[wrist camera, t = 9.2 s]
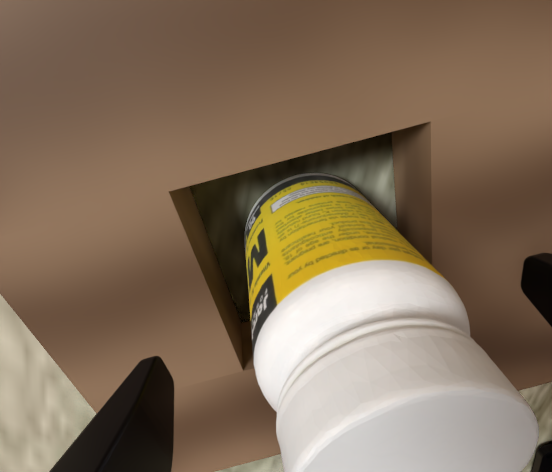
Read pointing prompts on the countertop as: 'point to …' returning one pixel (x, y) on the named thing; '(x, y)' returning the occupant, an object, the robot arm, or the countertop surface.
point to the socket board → (249, 155)
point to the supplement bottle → (369, 344)
